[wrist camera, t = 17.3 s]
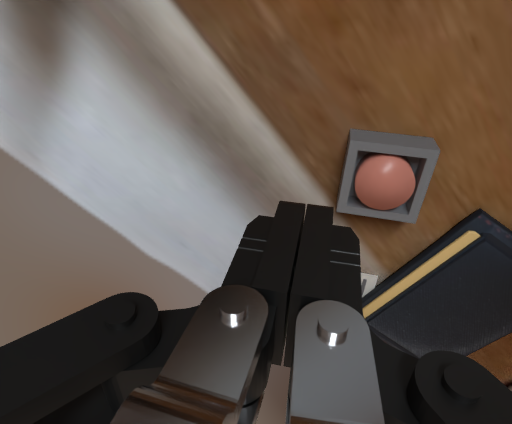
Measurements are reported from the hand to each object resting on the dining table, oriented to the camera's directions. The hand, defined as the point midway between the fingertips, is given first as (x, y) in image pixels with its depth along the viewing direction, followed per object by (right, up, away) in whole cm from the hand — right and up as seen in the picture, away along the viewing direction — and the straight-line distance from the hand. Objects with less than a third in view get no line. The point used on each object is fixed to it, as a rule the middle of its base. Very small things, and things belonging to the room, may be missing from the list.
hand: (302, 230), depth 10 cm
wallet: (+21, -9, +30) cm, 37 cm away
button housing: (+11, +5, +24) cm, 26 cm away
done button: (+10, +4, +23) cm, 25 cm away
